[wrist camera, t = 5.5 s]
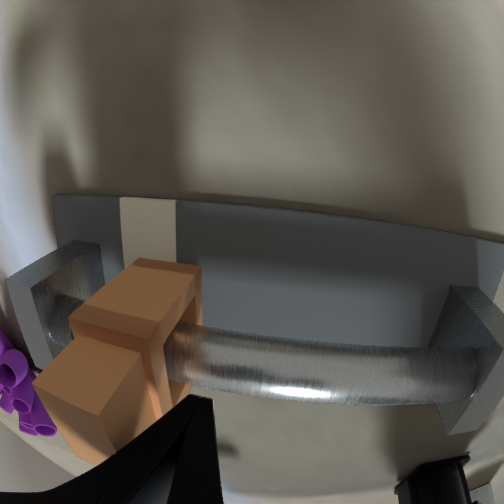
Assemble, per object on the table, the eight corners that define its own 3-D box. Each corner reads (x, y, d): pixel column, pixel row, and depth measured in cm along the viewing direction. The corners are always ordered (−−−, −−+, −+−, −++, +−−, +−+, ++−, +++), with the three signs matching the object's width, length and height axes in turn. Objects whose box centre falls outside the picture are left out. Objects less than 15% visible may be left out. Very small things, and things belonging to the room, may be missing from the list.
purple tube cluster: (-2, 294, 24) (-58, 281, 14) (96, 372, 24) (49, 391, 15) (-25, 373, 21) (-77, 380, 11) (66, 452, 21) (24, 489, 12)
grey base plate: (506, 243, 11) (510, 246, 11) (446, 386, 15) (448, 391, 14) (56, 194, 14) (51, 196, 14) (82, 337, 18) (78, 341, 17)
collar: (201, 265, 12) (101, 404, 5) (203, 359, 14) (146, 491, 7) (139, 257, 13) (17, 363, 6) (150, 347, 15) (76, 460, 7)
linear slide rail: (478, 287, 12) (532, 347, 7) (446, 362, 14) (477, 429, 9) (73, 240, 15) (5, 279, 10) (87, 315, 16) (35, 366, 11)
